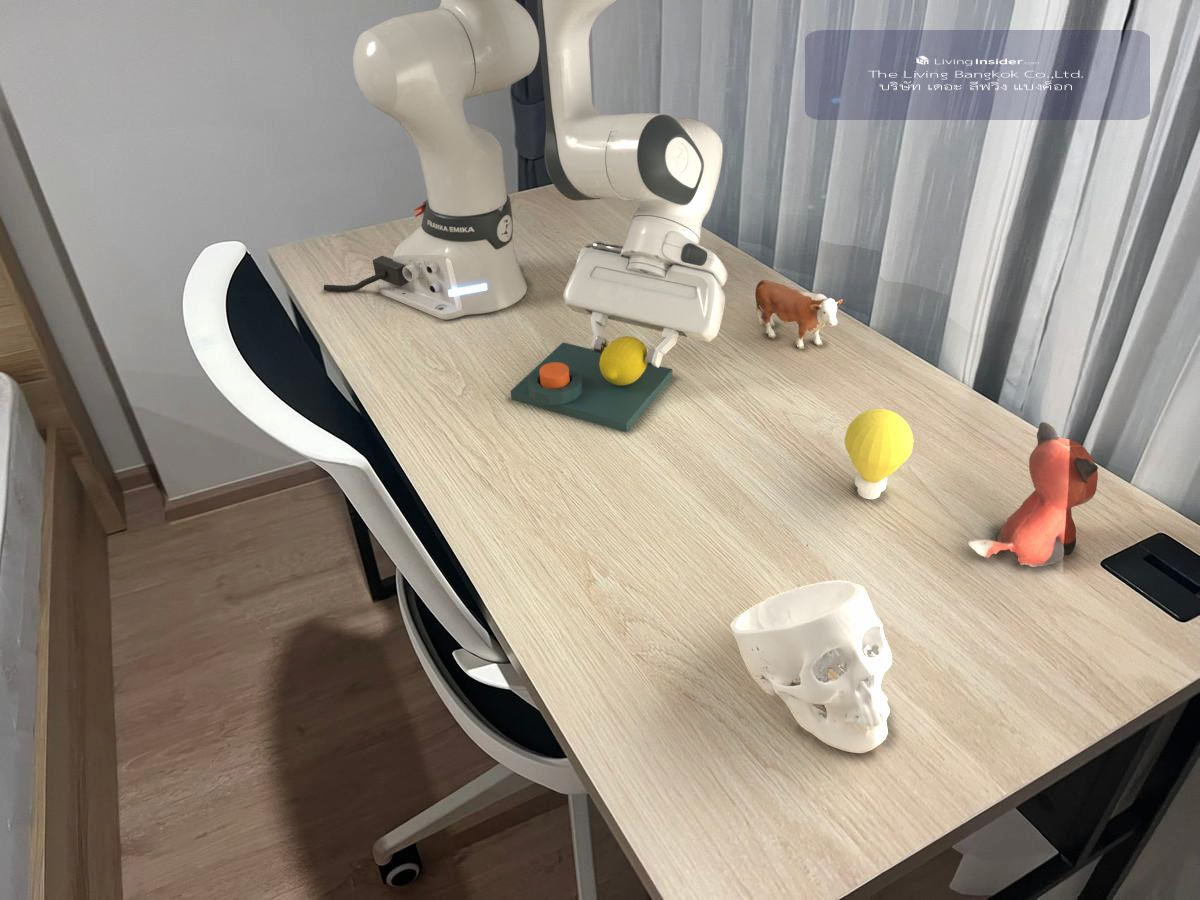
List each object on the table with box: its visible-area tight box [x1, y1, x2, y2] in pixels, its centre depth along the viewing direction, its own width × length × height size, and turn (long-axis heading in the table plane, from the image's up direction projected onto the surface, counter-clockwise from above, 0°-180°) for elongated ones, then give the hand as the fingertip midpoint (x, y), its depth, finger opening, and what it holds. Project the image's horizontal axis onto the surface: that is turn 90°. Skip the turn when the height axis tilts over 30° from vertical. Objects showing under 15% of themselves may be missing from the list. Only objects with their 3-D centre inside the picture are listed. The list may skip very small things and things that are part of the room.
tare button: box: [539, 362, 570, 389], centre depth 109 cm, size 4×4×2 cm
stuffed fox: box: [967, 421, 1099, 568], centre depth 84 cm, size 8×11×12 cm
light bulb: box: [844, 408, 914, 500], centre depth 92 cm, size 7×7×10 cm
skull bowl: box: [730, 579, 893, 754], centre depth 74 cm, size 10×14×12 cm
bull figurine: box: [754, 279, 844, 350], centre depth 118 cm, size 4×13×8 cm, turn 41°
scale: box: [510, 342, 673, 433], centre depth 112 cm, size 16×14×3 cm
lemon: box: [599, 335, 648, 386], centre depth 110 cm, size 6×6×8 cm
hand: (623, 358), depth 110 cm, fingers open, 6 cm apart
